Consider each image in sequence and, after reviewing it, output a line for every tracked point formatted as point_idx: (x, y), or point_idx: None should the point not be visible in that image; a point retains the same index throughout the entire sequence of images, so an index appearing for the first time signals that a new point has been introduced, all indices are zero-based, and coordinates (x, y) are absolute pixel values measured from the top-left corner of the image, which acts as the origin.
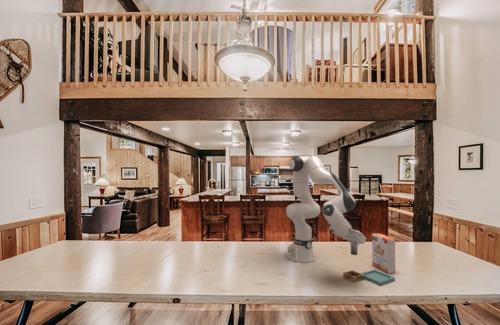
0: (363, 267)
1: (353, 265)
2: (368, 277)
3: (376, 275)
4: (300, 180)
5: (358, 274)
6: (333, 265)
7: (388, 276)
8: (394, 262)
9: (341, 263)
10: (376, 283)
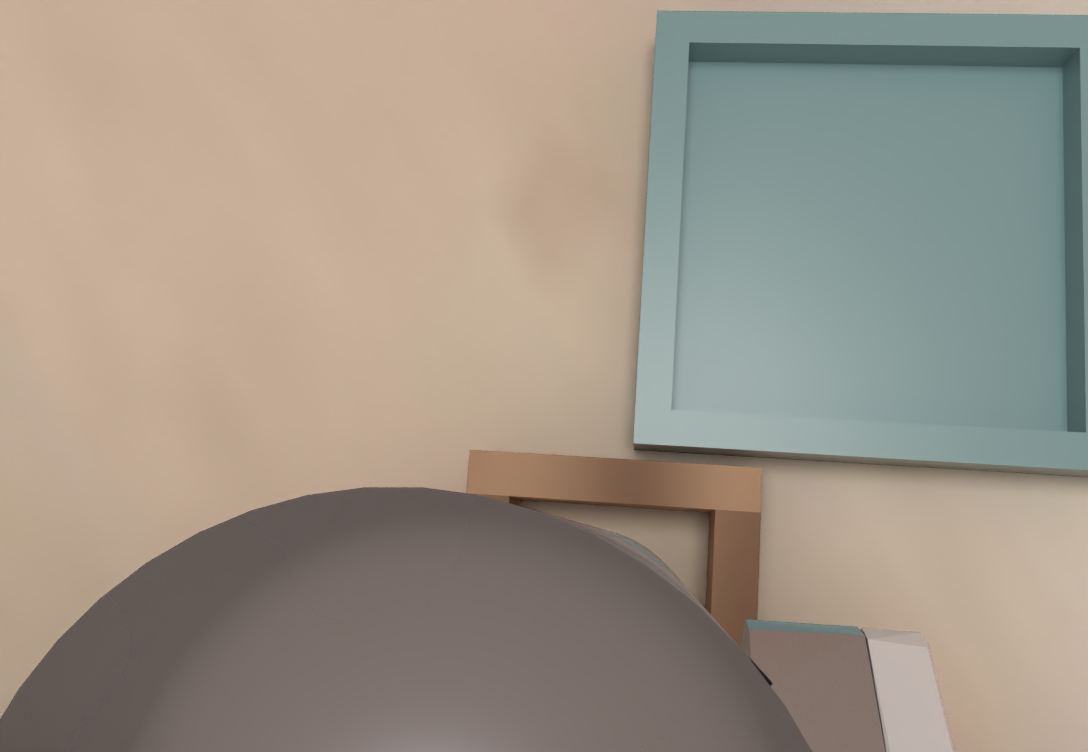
0: (402, 6)
1: (238, 84)
2: (845, 455)
3: (806, 168)
4: None
5: (649, 505)
6: (12, 416)
7: (994, 54)
8: None
9: (46, 198)
10: (1017, 470)
